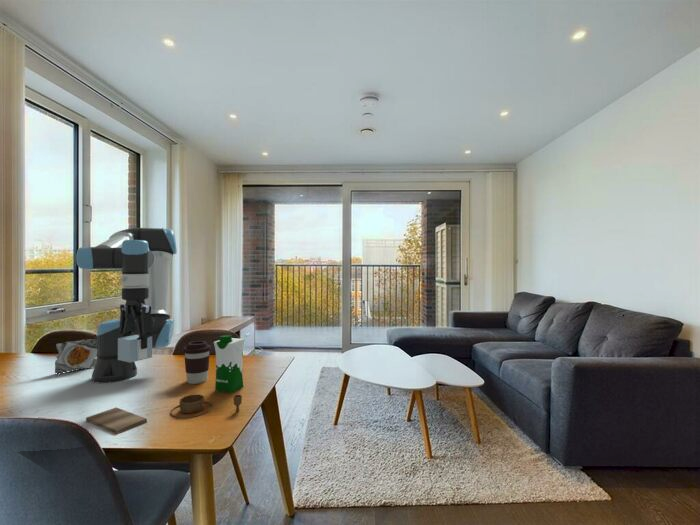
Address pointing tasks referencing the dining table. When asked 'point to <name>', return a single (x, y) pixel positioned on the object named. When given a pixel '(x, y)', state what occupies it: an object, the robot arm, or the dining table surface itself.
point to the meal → (76, 355)
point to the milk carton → (228, 364)
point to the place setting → (199, 404)
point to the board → (116, 420)
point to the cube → (131, 348)
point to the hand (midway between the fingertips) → (135, 357)
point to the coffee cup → (197, 361)
